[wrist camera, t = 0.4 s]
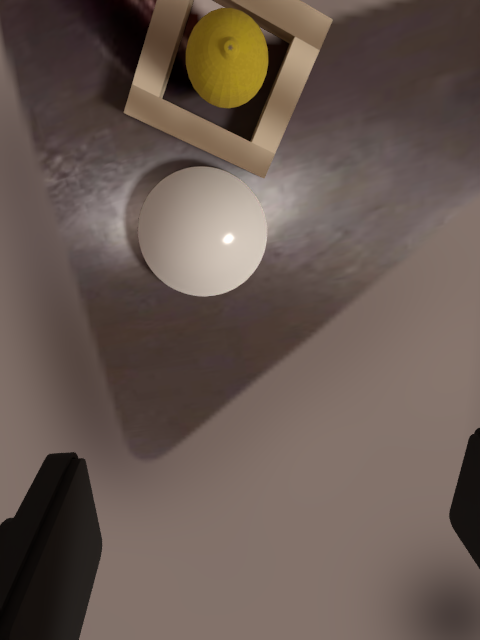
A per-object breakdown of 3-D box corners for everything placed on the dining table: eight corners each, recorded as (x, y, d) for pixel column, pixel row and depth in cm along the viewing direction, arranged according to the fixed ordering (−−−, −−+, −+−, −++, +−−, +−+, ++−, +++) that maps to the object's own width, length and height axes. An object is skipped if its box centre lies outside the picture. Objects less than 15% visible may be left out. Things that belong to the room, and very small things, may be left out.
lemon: (188, 111, 31) (183, 98, 24) (187, 26, 29) (181, -17, 22) (258, 114, 32) (274, 103, 24) (262, 31, 30) (281, -9, 22)
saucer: (165, 143, 32) (163, 142, 31) (286, 198, 34) (288, 200, 33) (123, 265, 36) (120, 269, 34) (235, 308, 38) (236, 313, 37)
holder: (180, -57, 27) (178, -72, 25) (324, 27, 30) (332, 19, 28) (128, 115, 31) (123, 112, 29) (261, 177, 34) (264, 178, 32)
